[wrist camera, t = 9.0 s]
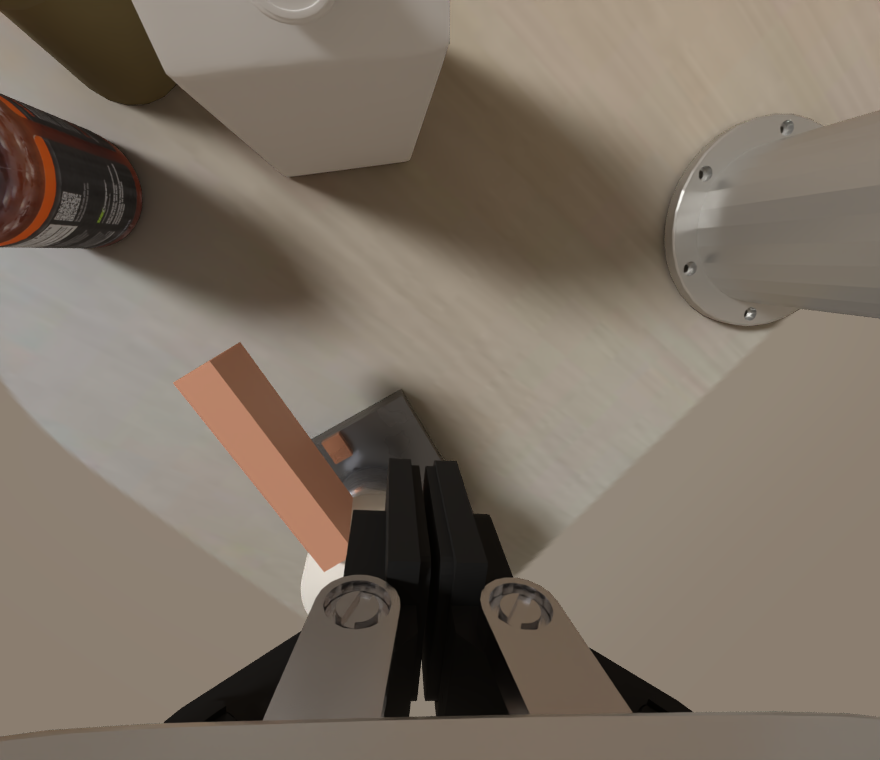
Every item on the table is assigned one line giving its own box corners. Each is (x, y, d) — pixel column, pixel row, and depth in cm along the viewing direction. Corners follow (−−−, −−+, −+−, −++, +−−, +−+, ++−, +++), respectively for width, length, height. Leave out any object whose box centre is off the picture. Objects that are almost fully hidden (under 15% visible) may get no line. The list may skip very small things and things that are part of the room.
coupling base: (401, 389, 30) (407, 424, 24) (471, 507, 33) (493, 566, 26) (265, 464, 30) (236, 519, 24) (347, 575, 33) (340, 650, 27)
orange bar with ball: (452, 561, 26) (466, 615, 22) (353, 619, 26) (348, 683, 22) (285, 314, 21) (264, 328, 17) (165, 386, 21) (118, 415, 17)
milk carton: (252, 30, 24) (-149, -692, 6) (389, 16, 25) (423, -675, 6) (284, 178, 26) (62, -8, 8) (410, 161, 26) (483, -48, 8)
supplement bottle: (9, 131, 24) (-303, 25, 13) (133, 128, 24) (-63, 25, 13) (42, 252, 25) (-211, 249, 14) (158, 246, 26) (0, 239, 15)
